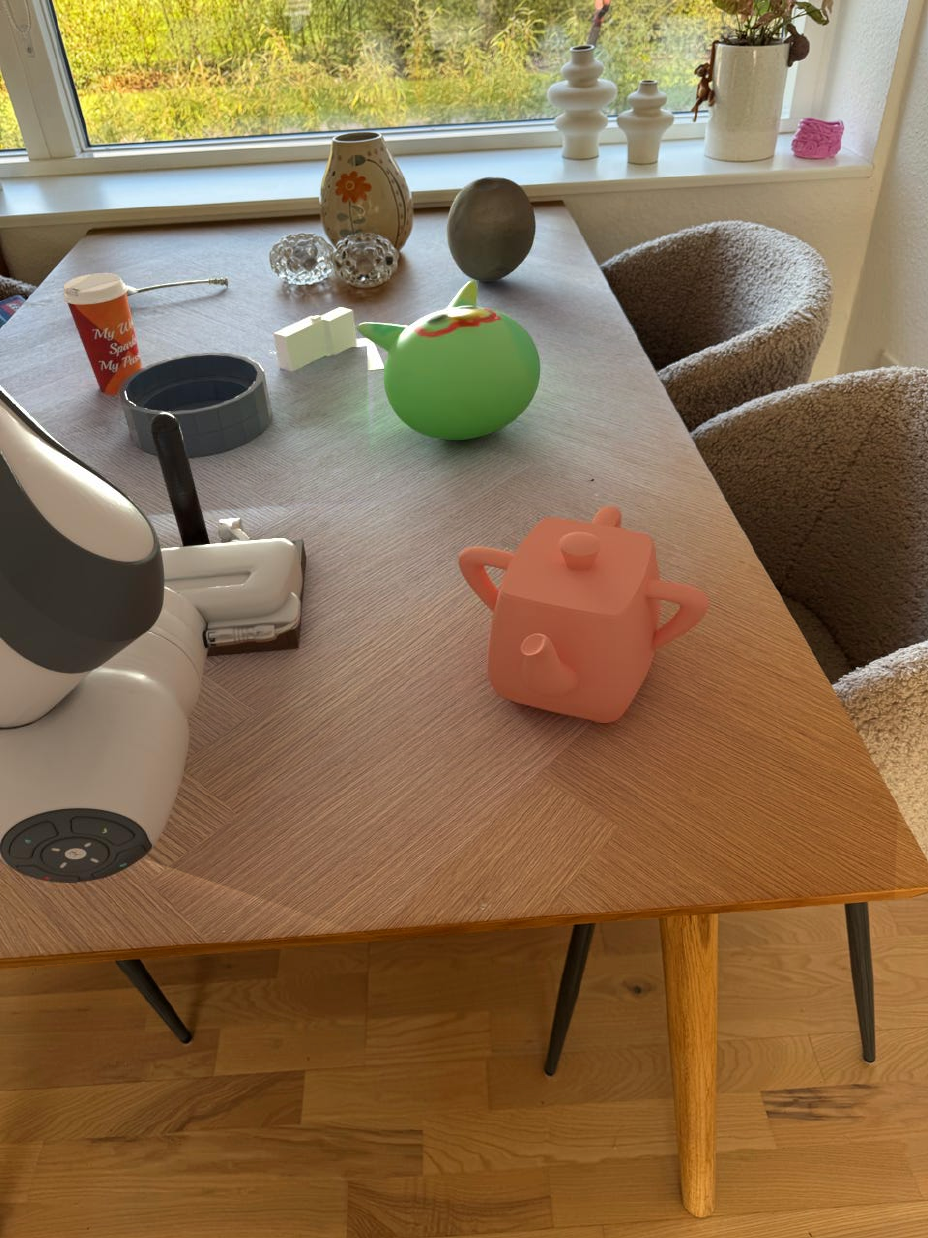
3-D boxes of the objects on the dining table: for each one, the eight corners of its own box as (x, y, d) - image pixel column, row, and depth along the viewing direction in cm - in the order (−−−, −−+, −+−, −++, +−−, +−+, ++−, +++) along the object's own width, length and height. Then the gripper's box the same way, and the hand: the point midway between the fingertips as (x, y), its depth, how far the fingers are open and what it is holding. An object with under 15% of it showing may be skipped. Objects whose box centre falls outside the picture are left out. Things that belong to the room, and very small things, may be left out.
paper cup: (121, 407, 117) (88, 297, 108) (81, 395, 120) (45, 287, 111) (167, 383, 122) (139, 276, 113) (126, 372, 125) (96, 267, 116)
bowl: (119, 467, 105) (104, 419, 101) (146, 402, 118) (133, 357, 114) (266, 456, 105) (257, 407, 102) (277, 392, 118) (268, 347, 114)
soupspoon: (90, 305, 148) (91, 321, 143) (83, 284, 146) (84, 300, 141) (227, 279, 152) (232, 294, 148) (222, 259, 150) (227, 273, 145)
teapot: (603, 596, 83) (612, 467, 74) (715, 704, 71) (739, 567, 63) (434, 655, 77) (423, 524, 69) (526, 783, 66) (526, 644, 58)
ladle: (172, 631, 80) (110, 434, 68) (189, 590, 85) (133, 398, 73) (240, 630, 80) (190, 431, 68) (253, 588, 85) (209, 395, 73)
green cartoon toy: (435, 480, 100) (426, 349, 90) (360, 422, 111) (346, 301, 101) (566, 431, 107) (570, 306, 98) (484, 382, 118) (481, 265, 109)
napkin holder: (272, 384, 120) (265, 342, 117) (265, 351, 129) (258, 310, 125) (385, 368, 123) (381, 326, 119) (371, 336, 131) (367, 296, 128)
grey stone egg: (433, 290, 144) (427, 188, 135) (468, 262, 154) (465, 164, 145) (518, 300, 140) (518, 194, 130) (548, 269, 150) (550, 169, 140)
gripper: (290, 596, 57) (301, 483, 68) (-46, 626, 56) (19, 507, 67) (306, 672, 61) (314, 554, 72) (-8, 701, 60) (48, 578, 71)
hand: (169, 531), depth 69 cm, fingers open, 8 cm apart
